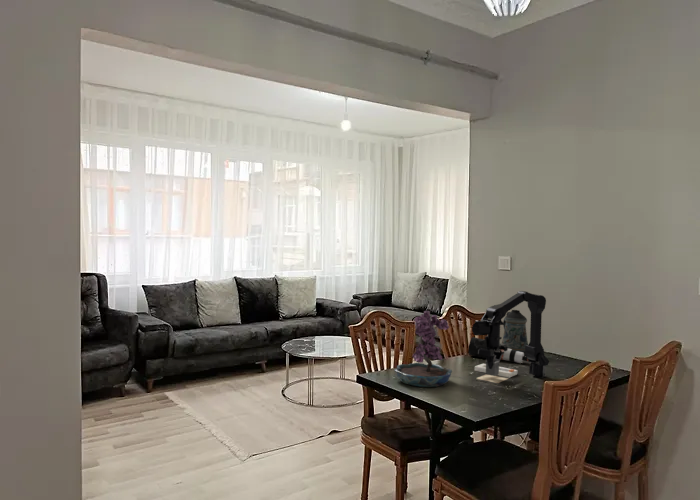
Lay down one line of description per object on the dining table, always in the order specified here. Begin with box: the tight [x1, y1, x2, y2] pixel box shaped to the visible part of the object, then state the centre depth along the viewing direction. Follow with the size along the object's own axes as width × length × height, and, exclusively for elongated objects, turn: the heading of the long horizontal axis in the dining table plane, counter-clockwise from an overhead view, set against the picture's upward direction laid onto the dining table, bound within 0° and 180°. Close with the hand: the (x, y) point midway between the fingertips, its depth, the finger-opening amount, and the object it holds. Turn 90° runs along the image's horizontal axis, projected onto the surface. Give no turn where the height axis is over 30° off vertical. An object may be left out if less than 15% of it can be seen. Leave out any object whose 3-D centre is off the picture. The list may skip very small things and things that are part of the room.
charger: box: [485, 359, 500, 376], centre depth 249 cm, size 4×4×7 cm
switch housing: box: [474, 363, 518, 379], centre depth 261 cm, size 18×9×4 cm, turn 49°
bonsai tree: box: [393, 310, 453, 388], centre depth 246 cm, size 35×27×33 cm
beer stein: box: [500, 309, 529, 356], centre depth 310 cm, size 16×19×25 cm
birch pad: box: [475, 373, 509, 386], centre depth 249 cm, size 11×11×1 cm
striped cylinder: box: [467, 336, 528, 364], centre depth 292 cm, size 10×34×10 cm, turn 60°
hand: (492, 367), depth 249 cm, fingers closed on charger, 4 cm apart
